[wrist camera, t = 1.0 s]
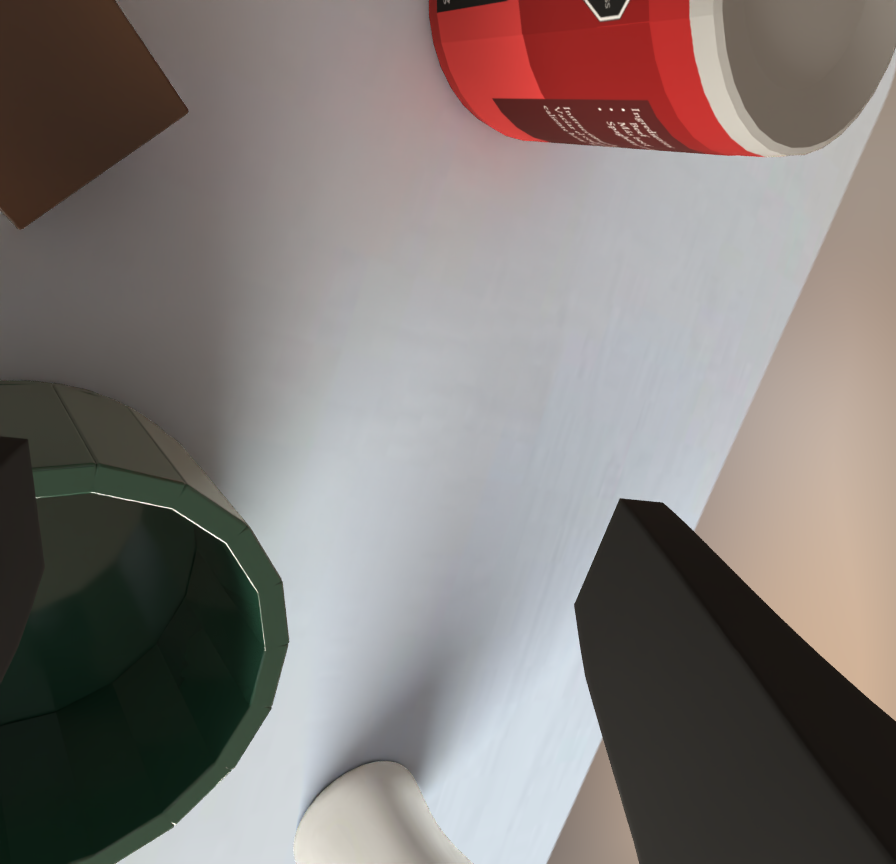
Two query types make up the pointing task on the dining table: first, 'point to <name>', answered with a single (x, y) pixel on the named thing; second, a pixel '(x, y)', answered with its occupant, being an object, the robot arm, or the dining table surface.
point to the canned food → (667, 70)
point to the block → (72, 99)
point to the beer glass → (373, 822)
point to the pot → (127, 635)
